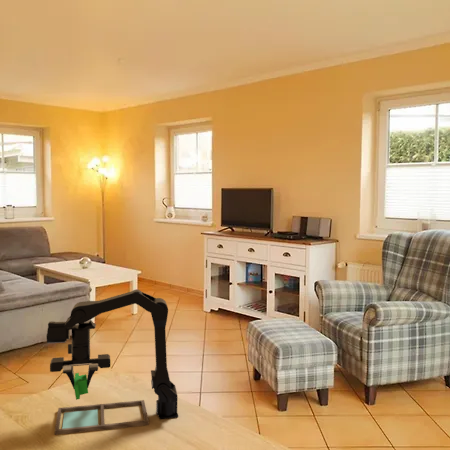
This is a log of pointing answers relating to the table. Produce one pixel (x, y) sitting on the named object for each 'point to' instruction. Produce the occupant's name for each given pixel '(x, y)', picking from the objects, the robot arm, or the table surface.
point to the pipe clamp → (80, 385)
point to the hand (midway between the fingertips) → (80, 388)
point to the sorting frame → (94, 418)
